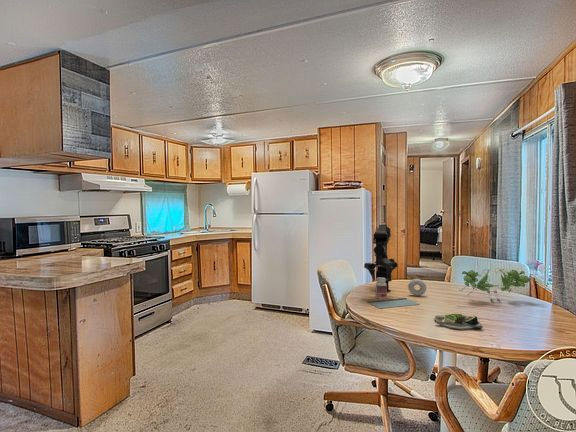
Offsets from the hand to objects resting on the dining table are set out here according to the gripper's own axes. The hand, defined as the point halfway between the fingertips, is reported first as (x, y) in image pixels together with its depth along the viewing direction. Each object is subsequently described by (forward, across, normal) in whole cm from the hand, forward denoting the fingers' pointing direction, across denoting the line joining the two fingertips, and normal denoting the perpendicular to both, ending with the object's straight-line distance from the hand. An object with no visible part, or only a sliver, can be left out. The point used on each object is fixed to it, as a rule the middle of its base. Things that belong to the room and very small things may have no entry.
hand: (381, 280), depth 189 cm
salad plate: (+11, +10, -48) cm, 50 cm away
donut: (+10, +22, -3) cm, 24 cm away
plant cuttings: (+11, +54, -23) cm, 59 cm away
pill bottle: (+10, 0, 0) cm, 10 cm away
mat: (+10, 0, -14) cm, 17 cm away
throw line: (+10, 0, -7) cm, 12 cm away
